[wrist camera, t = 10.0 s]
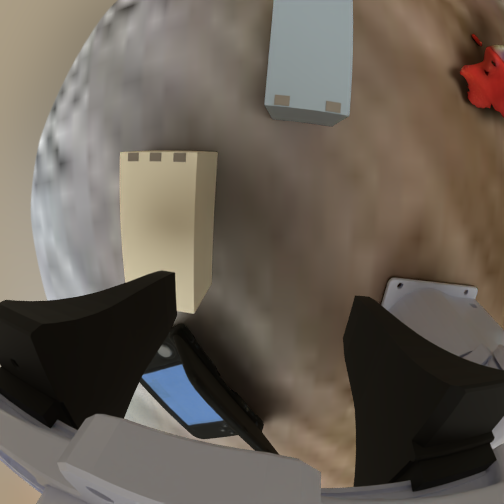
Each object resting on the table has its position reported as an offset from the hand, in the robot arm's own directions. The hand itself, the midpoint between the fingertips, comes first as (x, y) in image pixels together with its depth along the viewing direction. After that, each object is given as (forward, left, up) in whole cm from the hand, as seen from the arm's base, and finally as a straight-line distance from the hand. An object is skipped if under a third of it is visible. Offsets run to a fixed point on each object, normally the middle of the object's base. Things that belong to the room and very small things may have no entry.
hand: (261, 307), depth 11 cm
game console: (+5, +16, -10) cm, 20 cm away
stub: (-1, -12, -10) cm, 16 cm away
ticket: (+7, -1, -10) cm, 12 cm away
